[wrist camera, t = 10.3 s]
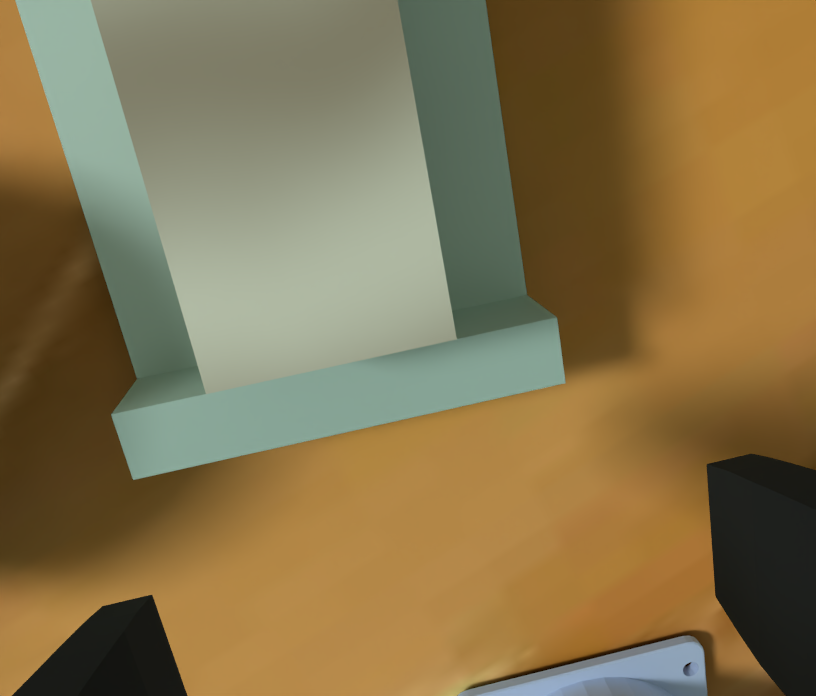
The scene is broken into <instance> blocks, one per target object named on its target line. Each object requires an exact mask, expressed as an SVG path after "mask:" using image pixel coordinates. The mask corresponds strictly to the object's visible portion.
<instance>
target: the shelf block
mask: <svg viewBox="0 0 816 696" xmlns="http://www.w3.org/2000/svg"><path fill="white" fill-rule="evenodd" d="M91 3H92V7H93V10H94V13H95V17H96V20H97V24H98V27H99V31H100V34H101V37H102V41H103V44H104V48H105V51H106V54H107V58H108V61H109V65H110V68H111V72H112V75H113V78H114V82H115V85H116V89H117V92H118V95H119V99H120V102H121V106H122V109H123V112H124V116H125V119H126V123H127V126H128V130H129V133H130V136H131V140H132V143H133V147H134V150H135V153H136V157H137V160H138V164H139V167H140V171H141V174H142V177H143V181H144V184H145V188H146V191H147V194H148V198H149V201H150V205H151V208H152V211H153V215H154V218H155V222H156V225H157V229H158V232H159V235H160V239H161V242H162V246H163V249H164V252H165V256H166V259H167V263H168V266H169V270H170V273H171V276H172V280H173V283H174V287H175V290H176V293H177V297H178V300H179V304H180V307H181V310H182V314H183V317H184V321H185V324H186V328H187V331H188V334H189V338H190V341H191V345H192V348H193V351H194V355H195V358H196V362H197V365H198V369H199V372H200V375H201V379H202V382H203V386H204V389H205V392H206V394H209V393H214V392H219V391H223V390H228V389H232V388H237V387H242V386H246V385H251V384H255V383H260V382H264V381H269V380H274V379H278V378H283V377H287V376H292V375H296V374H301V373H306V372H310V371H315V370H319V369H324V368H328V367H333V366H338V365H342V364H347V363H351V362H356V361H360V360H365V359H370V358H374V357H379V356H383V355H388V354H393V353H397V352H402V351H406V350H411V349H415V348H420V347H425V346H429V345H434V344H438V343H443V342H447V341H452V340H457V337H456V331H455V326H454V320H453V314H452V309H451V303H450V297H449V291H448V286H447V280H446V274H445V269H444V263H443V257H442V251H441V246H440V240H439V234H438V229H437V223H436V217H435V211H434V206H433V200H432V194H431V189H430V183H429V177H428V171H427V166H426V160H425V154H424V149H423V143H422V137H421V131H420V126H419V120H418V114H417V109H416V103H415V97H414V91H413V86H412V80H411V74H410V69H409V63H408V57H407V51H406V46H405V40H404V34H403V29H402V23H401V17H400V11H399V6H398V0H91Z"/></svg>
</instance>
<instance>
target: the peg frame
mask: <svg viewBox="0 0 816 696" xmlns="http://www.w3.org/2000/svg"><path fill="white" fill-rule="evenodd" d="M15 1H16V4H17V7H18V10H19V13H20V16H21V19H22V23H23V26H24V29H25V32H26V35H27V38H28V41H29V44H30V47H31V51H32V54H33V57H34V60H35V63H36V66H37V69H38V72H39V75H40V79H41V82H42V85H43V88H44V91H45V94H46V97H47V100H48V103H49V107H50V110H51V113H52V116H53V119H54V122H55V125H56V128H57V131H58V135H59V138H60V141H61V144H62V147H63V150H64V153H65V156H66V159H67V163H68V166H69V169H70V172H71V175H72V178H73V181H74V184H75V187H76V191H77V194H78V197H79V200H80V203H81V206H82V209H83V212H84V215H85V219H86V222H87V225H88V228H89V231H90V234H91V237H92V240H93V243H94V247H95V250H96V253H97V256H98V259H99V262H100V265H101V268H102V271H103V275H104V278H105V281H106V284H107V287H108V290H109V293H110V296H111V299H112V302H113V306H114V309H115V312H116V315H117V318H118V321H119V324H120V327H121V330H122V334H123V337H124V340H125V343H126V346H127V349H128V352H129V355H130V358H131V362H132V365H133V368H134V371H135V374H136V377H137V380H136V381H135V382H134V384H133V385H132V387H131V388H130V389H129V391H128V392H127V393H126V395H125V396H124V398H123V399H122V400H121V402H120V403H119V404H118V406H117V407H116V408H115V410H114V411H113V413H112V414H111V416H112V419H113V422H114V425H115V428H116V431H117V434H118V437H119V440H120V443H121V446H122V449H123V452H124V455H125V457H126V460H127V463H128V466H129V469H130V472H131V475H132V478H133V480H135V479H140V478H144V477H149V476H153V475H158V474H162V473H167V472H171V471H176V470H180V469H185V468H189V467H193V466H198V465H202V464H207V463H211V462H216V461H220V460H225V459H229V458H234V457H238V456H242V455H247V454H251V453H256V452H260V451H265V450H269V449H274V448H278V447H283V446H287V445H291V444H296V443H300V442H305V441H309V440H314V439H318V438H323V437H327V436H332V435H336V434H340V433H345V432H349V431H354V430H358V429H363V428H367V427H372V426H376V425H381V424H385V423H390V422H394V421H398V420H403V419H407V418H412V417H416V416H421V415H425V414H430V413H434V412H439V411H443V410H447V409H452V408H456V407H461V406H465V405H470V404H474V403H479V402H483V401H488V400H492V399H496V398H501V397H505V396H510V395H514V394H519V393H523V392H528V391H532V390H537V389H541V388H545V387H550V386H554V385H559V384H563V383H565V375H564V367H563V360H562V352H561V344H560V336H559V329H558V321H557V317H556V316H555V315H553V314H552V313H551V312H549V311H548V310H547V309H545V308H544V307H543V306H541V305H540V304H539V303H537V302H536V301H535V300H533V299H532V298H531V297H529V296H528V295H527V291H526V284H525V277H524V270H523V263H522V256H521V249H520V241H519V234H518V227H517V220H516V213H515V206H514V199H513V192H512V185H511V178H510V171H509V163H508V156H507V149H506V142H505V135H504V128H503V121H502V114H501V107H500V100H499V92H498V85H497V78H496V71H495V64H494V57H493V50H492V43H491V36H490V29H489V21H488V14H487V7H486V0H398V6H399V11H400V17H401V23H402V29H403V34H404V40H405V46H406V51H407V57H408V63H409V69H410V74H411V80H412V86H413V91H414V97H415V103H416V109H417V114H418V120H419V126H420V131H421V137H422V143H423V149H424V154H425V160H426V166H427V171H428V177H429V183H430V189H431V194H432V200H433V206H434V211H435V217H436V223H437V229H438V234H439V240H440V246H441V251H442V257H443V263H444V269H445V274H446V280H447V286H448V291H449V297H450V303H451V309H452V314H453V320H454V326H455V331H456V337H457V340H452V341H447V342H443V343H438V344H434V345H429V346H425V347H420V348H415V349H411V350H406V351H402V352H397V353H393V354H388V355H383V356H379V357H374V358H370V359H365V360H360V361H356V362H351V363H347V364H342V365H338V366H333V367H328V368H324V369H319V370H315V371H310V372H306V373H301V374H296V375H292V376H287V377H283V378H278V379H274V380H269V381H264V382H260V383H255V384H251V385H246V386H242V387H237V388H232V389H228V390H223V391H219V392H214V393H209V394H206V392H205V389H204V386H203V382H202V379H201V375H200V372H199V369H198V365H197V362H196V358H195V355H194V351H193V348H192V345H191V341H190V338H189V334H188V331H187V328H186V324H185V321H184V317H183V314H182V310H181V307H180V304H179V300H178V297H177V293H176V290H175V287H174V283H173V280H172V276H171V273H170V270H169V266H168V263H167V259H166V256H165V252H164V249H163V246H162V242H161V239H160V235H159V232H158V229H157V225H156V222H155V218H154V215H153V211H152V208H151V205H150V201H149V198H148V194H147V191H146V188H145V184H144V181H143V177H142V174H141V171H140V167H139V164H138V160H137V157H136V153H135V150H134V147H133V143H132V140H131V136H130V133H129V130H128V126H127V123H126V119H125V116H124V112H123V109H122V106H121V102H120V99H119V95H118V92H117V89H116V85H115V82H114V78H113V75H112V72H111V68H110V65H109V61H108V58H107V54H106V51H105V48H104V44H103V41H102V37H101V34H100V31H99V27H98V24H97V20H96V17H95V13H94V10H93V7H92V3H91V0H15Z"/></svg>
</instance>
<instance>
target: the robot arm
mask: <svg viewBox="0 0 816 696" xmlns="http://www.w3.org/2000/svg"><path fill="white" fill-rule="evenodd" d="M707 476H708V491H709V506H710V521H711V536H712V551H713V565H714V580H715V595H716V598H717V599H718V601H719V603H720V604H721V606H722V607H723V609H724V610H725V612H726V614H727V615H728V617H729V618H730V620H731V622H732V623H733V625H734V626H735V628H736V629H737V631H738V633H739V634H740V636H741V637H742V639H743V640H744V642H745V643H746V644H747V646H748V647H749V649H750V650H751V652H752V653H753V655H754V656H755V658H756V659H757V661H758V662H759V664H760V665H761V666H762V668H763V669H764V670H765V671H766V672H767V674H768V675H769V676H770V677H771V679H772V680H773V681H774V682H775V683H776V685H777V686H778V687H779V688H780V689H781V691H782V692H783V693H784V694H785V695H786V696H816V470H812V469H809V468H805V467H802V466H799V465H795V464H792V463H788V462H785V461H781V460H777V459H773V458H769V457H765V456H760V455H755V454H748V455H744V456H740V457H735V458H731V459H727V460H723V461H718V462H714V463H710V464H707ZM690 662H692V663H691V664H690V665H689V666H687V667H684V666H685V665H686V664H688V663H690ZM12 696H187V693H186V691H185V688H184V685H183V682H182V679H181V676H180V673H179V671H178V668H177V665H176V662H175V659H174V656H173V653H172V651H171V648H170V645H169V642H168V639H167V636H166V633H165V631H164V628H163V625H162V622H161V619H160V616H159V613H158V610H157V608H156V605H155V602H154V599H153V596H152V595H149V596H144V597H140V598H136V599H132V600H127V601H123V602H119V603H115V604H110V605H106V606H102V607H101V608H100V609H99V610H98V611H97V612H96V613H94V614H93V615H92V616H91V617H90V618H89V619H88V620H87V621H86V622H85V623H83V624H82V625H81V626H80V627H79V628H78V629H77V630H76V631H75V632H74V633H73V634H72V635H71V636H70V637H69V638H68V639H67V640H66V641H65V642H64V643H63V644H62V645H61V646H60V647H59V648H58V649H57V650H56V651H55V652H54V653H53V654H52V655H51V656H50V657H49V658H48V660H47V661H46V662H45V663H44V664H43V665H42V666H41V667H40V668H39V669H38V670H37V671H36V672H35V673H34V674H33V675H32V676H31V677H30V678H29V679H28V680H27V681H26V682H25V683H24V684H23V685H22V686H21V687H20V688H19V689H18V690H17V691H16V692H15V693H14V694H13V695H12ZM458 696H708V695H707V682H706V669H705V656H704V649H703V647H702V645H701V644H700V643H699V641H698V640H697V639H696V638H695V637H693V636H689V635H688V636H681V637H677V638H673V639H669V640H665V641H661V642H657V643H653V644H649V645H645V646H641V647H637V648H633V649H629V650H625V651H621V652H617V653H613V654H609V655H605V656H601V657H597V658H593V659H589V660H585V661H581V662H577V663H573V664H569V665H565V666H561V667H557V668H553V669H549V670H545V671H541V672H537V673H533V674H529V675H525V676H521V677H517V678H513V679H509V680H505V681H501V682H497V683H493V684H489V685H485V686H481V687H477V688H473V689H469V690H466V691H463V692H461V693H460V694H459V695H458Z"/></svg>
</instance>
